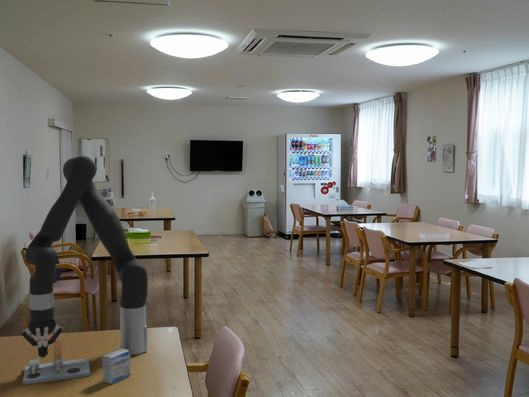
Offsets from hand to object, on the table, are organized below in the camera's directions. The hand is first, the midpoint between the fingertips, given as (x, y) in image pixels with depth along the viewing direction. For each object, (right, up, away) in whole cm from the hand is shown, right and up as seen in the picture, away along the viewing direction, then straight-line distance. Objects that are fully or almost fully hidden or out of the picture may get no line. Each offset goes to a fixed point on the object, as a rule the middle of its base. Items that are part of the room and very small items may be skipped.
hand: (43, 356), depth 170 cm
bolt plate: (+5, -5, +1) cm, 7 cm away
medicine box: (+25, -6, -3) cm, 26 cm away
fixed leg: (-2, -4, -2) cm, 5 cm away
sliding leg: (+5, -4, +1) cm, 6 cm away
